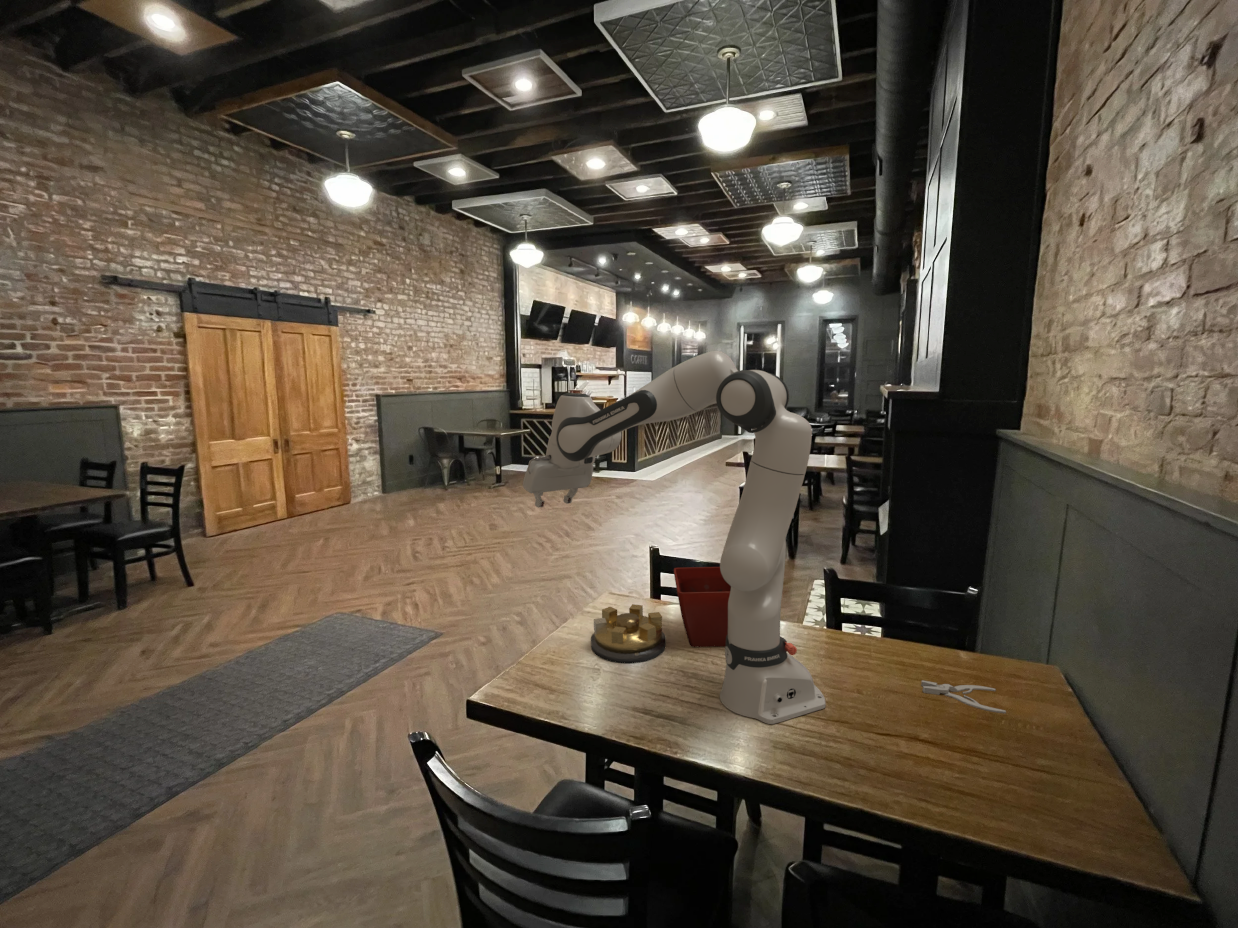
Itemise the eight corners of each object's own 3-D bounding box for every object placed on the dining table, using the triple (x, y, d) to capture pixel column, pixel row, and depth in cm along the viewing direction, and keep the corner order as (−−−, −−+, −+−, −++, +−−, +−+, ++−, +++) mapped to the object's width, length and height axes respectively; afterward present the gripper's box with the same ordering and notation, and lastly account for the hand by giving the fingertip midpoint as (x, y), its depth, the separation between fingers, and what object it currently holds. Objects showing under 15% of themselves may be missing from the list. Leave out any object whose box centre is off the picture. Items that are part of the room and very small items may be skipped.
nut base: (654, 625, 163) (654, 617, 162) (675, 658, 143) (675, 649, 143) (586, 632, 159) (585, 625, 159) (597, 667, 140) (597, 658, 139)
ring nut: (652, 619, 161) (651, 601, 160) (670, 648, 144) (670, 628, 143) (590, 626, 158) (589, 607, 157) (600, 656, 140) (600, 636, 140)
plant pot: (678, 653, 146) (677, 591, 143) (673, 622, 164) (673, 567, 162) (752, 653, 145) (753, 591, 142) (739, 622, 164) (740, 566, 161)
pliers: (1006, 708, 117) (924, 694, 122) (1006, 715, 117) (924, 701, 123) (995, 684, 126) (919, 672, 131) (994, 691, 126) (919, 679, 132)
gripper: (538, 461, 133) (528, 514, 137) (600, 457, 148) (589, 505, 152) (522, 451, 137) (513, 503, 141) (584, 449, 152) (574, 496, 156)
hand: (553, 504), depth 146 cm, fingers open, 8 cm apart
